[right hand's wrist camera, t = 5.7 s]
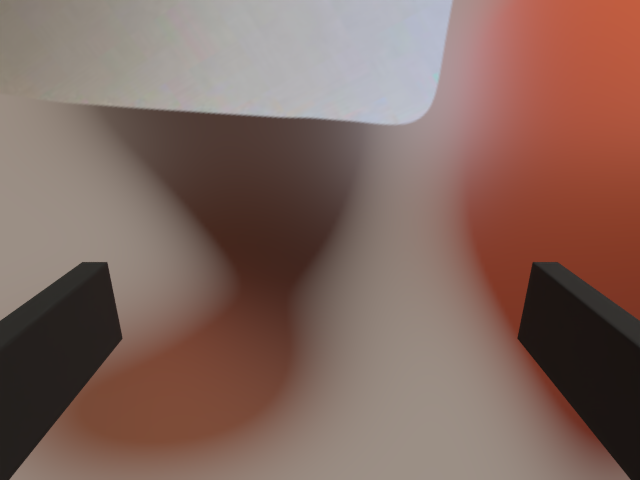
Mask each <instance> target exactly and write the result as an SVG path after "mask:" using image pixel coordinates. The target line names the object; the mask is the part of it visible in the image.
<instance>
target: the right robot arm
mask: <svg viewBox="0 0 640 480" xmlns="http://www.w3.org/2000/svg"><path fill="white" fill-rule="evenodd" d="M121 340H122V333H121V329H120V324H119V319H118V314H117V309H116V304H115V299H114V294H113V289H112V284H111V279H110V274H109V269H108V264H107V262H82V263H81V264H79V265H78V266H76V267H75V268H74V269H72V270H71V271H69V272H68V273H67V274H65V275H64V276H62V277H61V278H60V279H58V280H57V281H55V282H54V283H53V284H51V285H50V286H49V287H47V288H46V289H44V290H43V291H41V292H40V293H39V294H37V295H36V296H34V297H33V298H32V299H30V300H29V301H27V302H26V303H25V304H23V305H22V306H20V307H19V308H18V309H16V310H15V311H13V312H12V313H11V314H9V315H8V316H7V317H5V318H4V319H2V320H1V321H0V480H9V479H10V478H11V477H12V475H13V474H14V473H15V472H16V470H17V469H18V468H19V467H20V465H21V464H22V463H23V462H24V461H25V459H26V458H27V457H28V456H29V454H30V453H31V452H32V451H33V449H34V448H35V447H36V446H37V444H38V443H39V442H40V441H41V439H42V438H43V437H44V436H45V434H46V433H47V432H48V431H49V429H50V428H51V427H52V426H53V424H54V423H55V422H56V421H57V419H58V418H59V417H60V416H61V414H62V413H63V412H64V411H65V409H66V408H67V407H68V406H69V404H70V403H71V402H72V401H73V400H74V398H75V397H76V396H77V395H78V393H79V392H80V391H81V390H82V388H83V387H84V386H85V385H86V383H87V382H88V381H89V380H90V378H91V377H92V376H93V375H94V373H95V372H96V371H97V370H98V368H99V367H100V366H101V365H102V363H103V362H104V361H105V360H106V358H107V357H108V356H109V355H110V353H111V352H112V351H113V350H114V348H115V347H116V346H117V345H118V343H119V342H120V341H121ZM518 340H519V341H520V342H521V343H522V345H523V346H524V347H525V348H526V350H527V351H528V352H529V353H530V355H531V356H532V357H533V358H534V360H535V361H536V362H537V363H538V365H539V366H540V367H541V368H542V370H543V371H544V372H545V373H546V375H547V376H548V377H549V378H550V380H551V381H552V382H553V383H554V385H555V386H556V387H557V388H558V390H559V391H560V392H561V393H562V395H563V396H564V397H565V398H566V400H567V401H568V402H569V403H570V404H571V406H572V407H573V408H574V409H575V411H576V412H577V413H578V414H579V416H580V417H581V418H582V419H583V421H584V422H585V423H586V424H587V426H588V427H589V428H590V429H591V431H592V432H593V433H594V434H595V436H596V437H597V438H598V439H599V441H600V442H601V443H602V444H603V446H604V447H605V448H606V449H607V450H608V452H609V453H610V454H611V456H612V457H613V458H614V459H615V460H616V462H617V463H618V464H619V465H620V467H621V468H622V469H623V470H624V472H625V473H626V474H627V475H628V477H629V478H630V479H631V480H640V321H639V320H638V319H636V318H635V317H634V316H632V315H631V314H629V313H628V312H626V311H625V310H624V309H622V308H621V307H620V306H618V305H617V304H615V303H614V302H612V301H611V300H610V299H608V298H607V297H606V296H604V295H603V294H601V293H600V292H599V291H597V290H596V289H594V288H593V287H592V286H590V285H589V284H587V283H586V282H585V281H583V280H582V279H580V278H579V277H578V276H576V275H575V274H573V273H572V272H571V271H569V270H568V269H566V268H565V267H564V266H562V265H561V264H559V263H558V262H533V264H532V269H531V274H530V279H529V284H528V289H527V294H526V299H525V304H524V309H523V314H522V319H521V323H520V329H519V333H518Z"/></svg>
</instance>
